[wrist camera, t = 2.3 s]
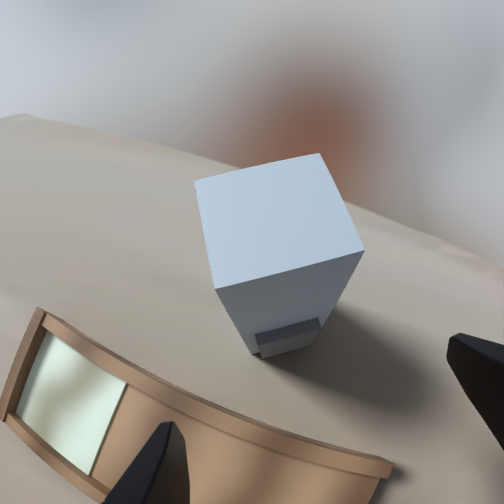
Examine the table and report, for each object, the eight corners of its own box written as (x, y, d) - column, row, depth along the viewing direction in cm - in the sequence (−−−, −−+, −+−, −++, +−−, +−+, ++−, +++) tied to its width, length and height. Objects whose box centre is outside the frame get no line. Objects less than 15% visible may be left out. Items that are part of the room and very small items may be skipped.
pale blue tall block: (319, 345, 20) (372, 268, 9) (253, 362, 20) (218, 309, 9) (299, 283, 22) (319, 153, 11) (238, 299, 22) (194, 181, 11)
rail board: (378, 456, 16) (395, 464, 13) (318, 568, 13) (323, 591, 10) (61, 319, 22) (37, 306, 19) (22, 416, 18) (-5, 414, 15)
